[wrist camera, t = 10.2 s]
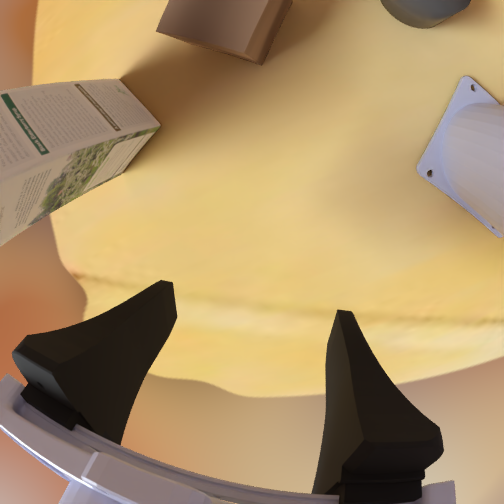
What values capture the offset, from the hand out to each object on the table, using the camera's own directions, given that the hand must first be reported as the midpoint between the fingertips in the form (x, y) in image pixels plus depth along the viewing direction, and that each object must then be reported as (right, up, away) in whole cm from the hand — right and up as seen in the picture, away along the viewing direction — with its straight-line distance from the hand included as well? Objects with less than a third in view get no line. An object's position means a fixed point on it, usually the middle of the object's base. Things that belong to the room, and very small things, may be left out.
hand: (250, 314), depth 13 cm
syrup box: (-10, +12, +7) cm, 17 cm away
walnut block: (-1, +17, +2) cm, 17 cm away
